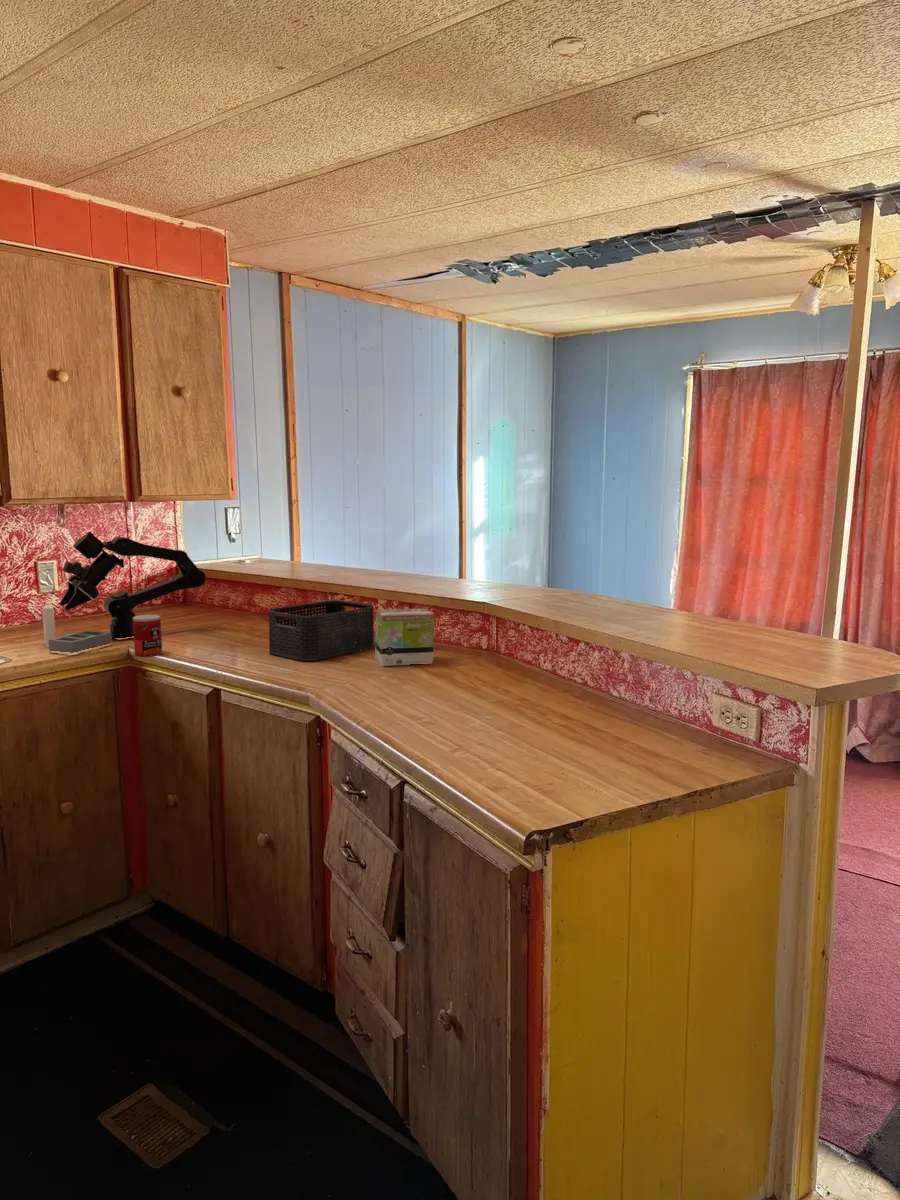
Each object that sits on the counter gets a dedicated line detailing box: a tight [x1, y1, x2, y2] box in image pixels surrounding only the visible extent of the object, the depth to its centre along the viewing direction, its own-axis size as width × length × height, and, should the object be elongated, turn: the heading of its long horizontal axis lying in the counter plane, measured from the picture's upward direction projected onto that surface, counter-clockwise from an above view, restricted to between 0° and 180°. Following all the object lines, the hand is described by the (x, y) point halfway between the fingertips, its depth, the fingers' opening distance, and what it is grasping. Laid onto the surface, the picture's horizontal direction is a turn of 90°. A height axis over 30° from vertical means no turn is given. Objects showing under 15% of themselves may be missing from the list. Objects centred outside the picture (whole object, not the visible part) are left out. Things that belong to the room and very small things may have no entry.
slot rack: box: [48, 630, 113, 653], centre depth 249 cm, size 15×9×4 cm, turn 159°
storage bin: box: [268, 599, 375, 662], centre depth 249 cm, size 29×19×13 cm
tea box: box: [374, 608, 435, 667], centre depth 235 cm, size 15×10×15 cm, turn 105°
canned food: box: [133, 614, 163, 657], centre depth 243 cm, size 8×8×11 cm
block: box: [41, 605, 57, 646], centre depth 252 cm, size 2×5×12 cm, turn 34°
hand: (63, 607), depth 254 cm, fingers open, 9 cm apart
